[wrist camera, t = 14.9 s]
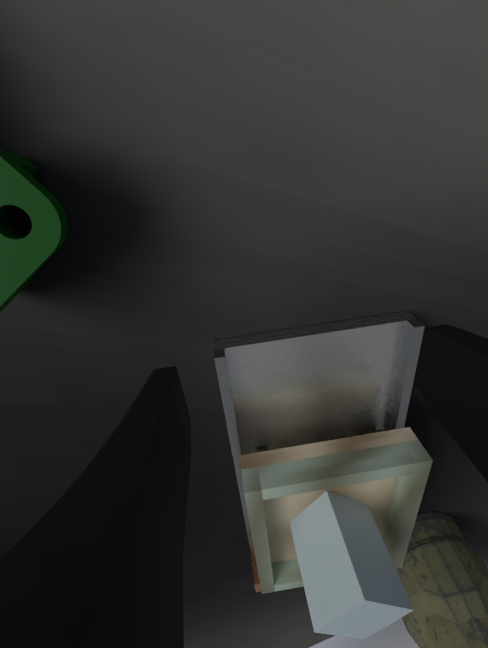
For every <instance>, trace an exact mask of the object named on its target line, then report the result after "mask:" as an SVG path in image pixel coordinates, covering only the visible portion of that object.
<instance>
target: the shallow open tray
mask: <svg viewBox="0 0 488 648" xmlns="http://www.w3.org/2000/svg"><path fill="white" fill-rule="evenodd" d="M239 456H240V464H241V472H242V481H243V489H244V496H245V501H246V507H247V513H248V518H249V524H250V530H251V535H252V541H253V546H254V552H255V558H256V563H257V569H258V575H259V580H260V586H261V592H262V594H264V593H270V592H275V591H280V590H286V589H291V588H297V587H302V586H304V585H303V580H302V576H301V571H300V567H299V563H298V558H297V554H296V549H295V545H294V541H293V536H292V532H291V527H290V523H289V522H291V521H292V520H293V519H294V518H295V517H296V516H298V515H299V514H300V513H301V512H302V511H303V510H305V509H306V508H307V507H308V506H309V505H310V504H312V503H313V502H314V501H315V500H316V499H317V498H318V497H320V496H321V495H322V494H323V493H324V492H325V491H329V492H332V493H335V494H337V495H340V496H343V497H346V498H349V499H351V500H354V501H357V502H360V503H363V504H365V505H368V507H369V509H370V512H371V514H372V516H373V519H374V521H375V523H376V525H377V528H378V530H379V532H380V534H381V537H382V539H383V541H384V543H385V546H386V548H387V550H388V552H389V555H390V557H391V559H392V561H393V564H394V566H395V568H396V569H398V568H402V566H403V562H404V559H405V555H406V552H407V548H408V545H409V541H410V538H411V534H412V531H413V528H414V524H415V521H416V517H417V514H418V510H419V507H420V503H421V500H422V496H423V493H424V489H425V486H426V483H427V479H428V476H429V472H430V469H431V465H432V462H433V460H432V458H431V457H430V455H429V454H428V453H427V451H426V450H425V448H424V447H423V445H422V444H421V443H420V441H419V440H418V438H417V437H416V435H415V434H414V433H413V431H412V430H411V428H410V427H406V428H400V429H395V430H389V431H382V430H380V429H379V430H373V431H367V432H364V435H359V436H353V437H347V438H341V439H335V440H329V441H323V442H317V443H311V444H305V445H299V446H293V447H287V448H281V449H275V450H269V448H265V449H259V450H254V453H251V454H245V455H239Z"/></svg>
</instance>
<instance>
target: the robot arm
mask: <svg viewBox="0 0 488 648" xmlns="http://www.w3.org/2000/svg"><path fill="white" fill-rule="evenodd" d="M415 384H416V385H417V387H418V389H419V391H420V392H421V394H422V396H423V398H424V399H425V401H426V403H427V404H428V406H429V407H430V409H431V411H432V412H433V414H434V415H435V416H436V417H437V419H438V420H439V421H440V423H441V424H442V425H443V426H444V428H445V429H446V430H447V432H448V433H449V434H450V435H451V437H452V438H453V439H454V440H455V442H456V443H457V444H458V445H459V447H460V448H461V449H462V450H463V452H464V453H465V454H466V455H467V457H468V458H469V459H470V460H471V462H472V463H473V464H474V465H475V467H476V468H477V469H478V470H479V472H480V473H481V474H482V475H483V477H484V478H485V479H486V480H487V482H488V339H486V338H483V337H481V336H478V335H476V334H473V333H470V332H468V331H465V330H462V329H459V328H457V327H453V326H450V325H447V324H445V325H438V326H432V327H426V329H425V334H424V339H423V343H422V348H421V353H420V358H419V363H418V368H417V373H416V377H415ZM190 460H191V429H190V416H189V412H188V408H187V405H186V401H185V397H184V393H183V389H182V386H181V382H180V378H179V374H178V371H177V367H176V366H173V367H167V368H160V369H154V371H153V372H152V373H151V375H150V376H149V378H148V379H147V381H146V383H145V384H144V386H143V388H142V389H141V391H140V392H139V394H138V396H137V397H136V399H135V400H134V402H133V403H132V405H131V406H130V408H129V409H128V411H127V412H126V414H125V415H124V417H123V418H122V420H121V421H120V423H119V424H118V426H117V427H116V428H115V430H114V431H113V433H112V434H111V435H110V437H109V438H108V439H107V441H106V442H105V443H104V445H103V446H102V447H101V449H100V450H99V451H98V453H97V454H96V455H95V457H94V458H93V459H92V461H91V462H90V463H89V464H88V466H87V467H86V468H85V469H84V471H83V472H82V473H81V474H80V476H79V477H78V478H77V479H76V480H75V481H74V483H73V484H72V485H71V486H70V487H69V488H68V490H67V491H66V492H65V493H64V494H63V495H62V496H61V498H60V499H59V500H58V501H57V502H56V503H55V504H54V505H53V506H52V507H51V509H50V510H49V511H48V512H47V513H46V514H45V515H44V516H43V517H42V518H41V519H40V520H39V521H38V522H37V523H36V524H35V525H34V526H33V527H32V528H31V529H30V530H29V531H28V532H27V533H26V534H25V535H24V536H23V537H22V538H21V539H20V540H19V541H18V542H17V543H16V544H15V545H14V546H13V548H12V549H11V550H10V551H9V552H8V553H7V554H5V555H4V556H3V557H2V558H1V559H0V648H184V639H183V545H184V529H185V518H186V506H187V495H188V484H189V472H190Z"/></svg>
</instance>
